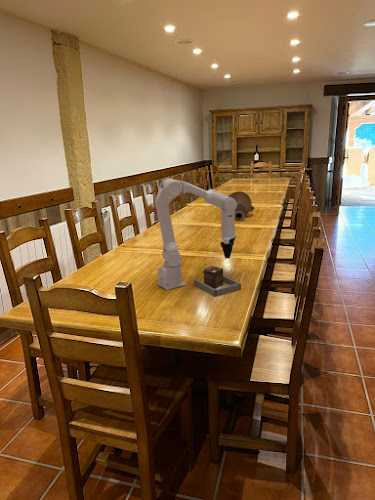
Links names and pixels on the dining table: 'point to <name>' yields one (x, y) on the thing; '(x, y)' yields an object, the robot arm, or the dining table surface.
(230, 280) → the grey arch frame
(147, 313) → the dining table surface
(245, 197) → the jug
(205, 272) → the box
